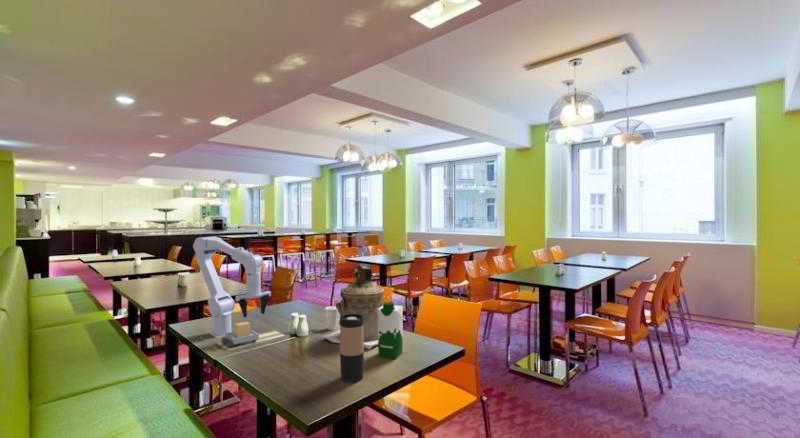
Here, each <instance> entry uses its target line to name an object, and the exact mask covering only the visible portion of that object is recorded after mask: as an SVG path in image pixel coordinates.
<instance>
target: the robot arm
mask: <svg viewBox="0 0 800 438" xmlns="http://www.w3.org/2000/svg"><path fill="white" fill-rule="evenodd" d="M192 248H193V250H194V253H195V257H196V261H197V265H198V268H199V269H200V272H201V274H202V277H203V279H204V280H203V281H204V282H205V284H206V287H207V289H208V291H209V294H210V297H209V298H208V300H207V304H208V311H209V313H210V315H211V319H210V320H211V322H210V323H211V324H210V326H211V330H210V332H209V333H208V334H209V335H211V336H213V337H214V338H216V339H218V338H224V337H225V333H230V332H233V331H232V313H233V311H234V309H235V307H236V302H237V303H238V305H239V307H240V309H241V312H242V316H243V318H247V317H248V312H247V311H248V309H247V308H248V301H247V300H251V299H256V298H257V299H258V298H259V300H260V313H261V315H264V314H266V313H265V312H266V308H267V306H268V302H269V301H270V298H271V296H272V291H271V290H267V291H262V289H261V288H262V287H261V286H262V284H261V281H262V280H261V279H262V278H261V277H262V275H261V273H262V272H261V270H262V269H261V268H262V267H263V265H264V259H263V257H262V255H260V254H259V253H257V254H253V252H249V251H248V250H245V248H244V247H243V246H241V247H234V246H232V245H231V244H229V243H227V242H226V241H224V240H223V239H222V238H221V237H218V236H216V235H213V236H205V237H204V236H201V237H197V238H195V240H194V242H193V245H192ZM218 250H219V251H221V252H223V253H225V254H228V255H229V256H231V259H232V260H233V261H235V262H237V263H239V264H241V265H243V267H244V270H245V274H246V275H245V276H246V277H245V278H246V283H245V284H246V293H244V294H243V293H242V294H238V295H235V299H233V298H232V296H231V294H230V293H229V292H226V291H225V290H224V288H223V285H222V282H221V281H220V278H219V275H218V273H217V271H216V268H215V265H214V263H213V260H212V257H213V256H214V255H215V254H216V252H218ZM235 301H236V302H235Z"/></svg>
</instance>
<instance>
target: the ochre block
mask: <svg viewBox="0 0 800 438" xmlns="http://www.w3.org/2000/svg"><path fill="white" fill-rule="evenodd" d="M232 327H233V331H232V332H234V336H236V337H237V338H240V337H245V336H249V335H250V329H251V322H248V321H247V320H244V321H238V322H233V326H232Z"/></svg>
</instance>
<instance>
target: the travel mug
mask: <svg viewBox="0 0 800 438" xmlns="http://www.w3.org/2000/svg"><path fill="white" fill-rule="evenodd" d="M339 321H340V325H339V330H340V343H339V357H340V360H339V361H340V380H341V381H342V382H344V383H349V384H350V383H352V384H353V383H354V384H355V383H358V382H361V381H362V380H363V378H364V361H365V360H364V355H365V351H364V349H365V348H364V334H363V316H362V315H359V314H347V315H343V316H341V317H340V316H339Z"/></svg>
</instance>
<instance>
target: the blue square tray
mask: <svg viewBox="0 0 800 438" xmlns="http://www.w3.org/2000/svg"><path fill="white" fill-rule="evenodd" d="M258 333H259V332H256V331H254V330H252V329H251V328H250V335H249V336H245V337H240V338H237V337H236V336H234V331H232V332H230V333H225V336H224V338H226V339H228V340H229V341H231V342H232V343H233V344H234V345H235V346H236V347H237V346H238V345H239V343H243V342H247V341H252V342H256V341H257V339H259V334H258Z"/></svg>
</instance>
